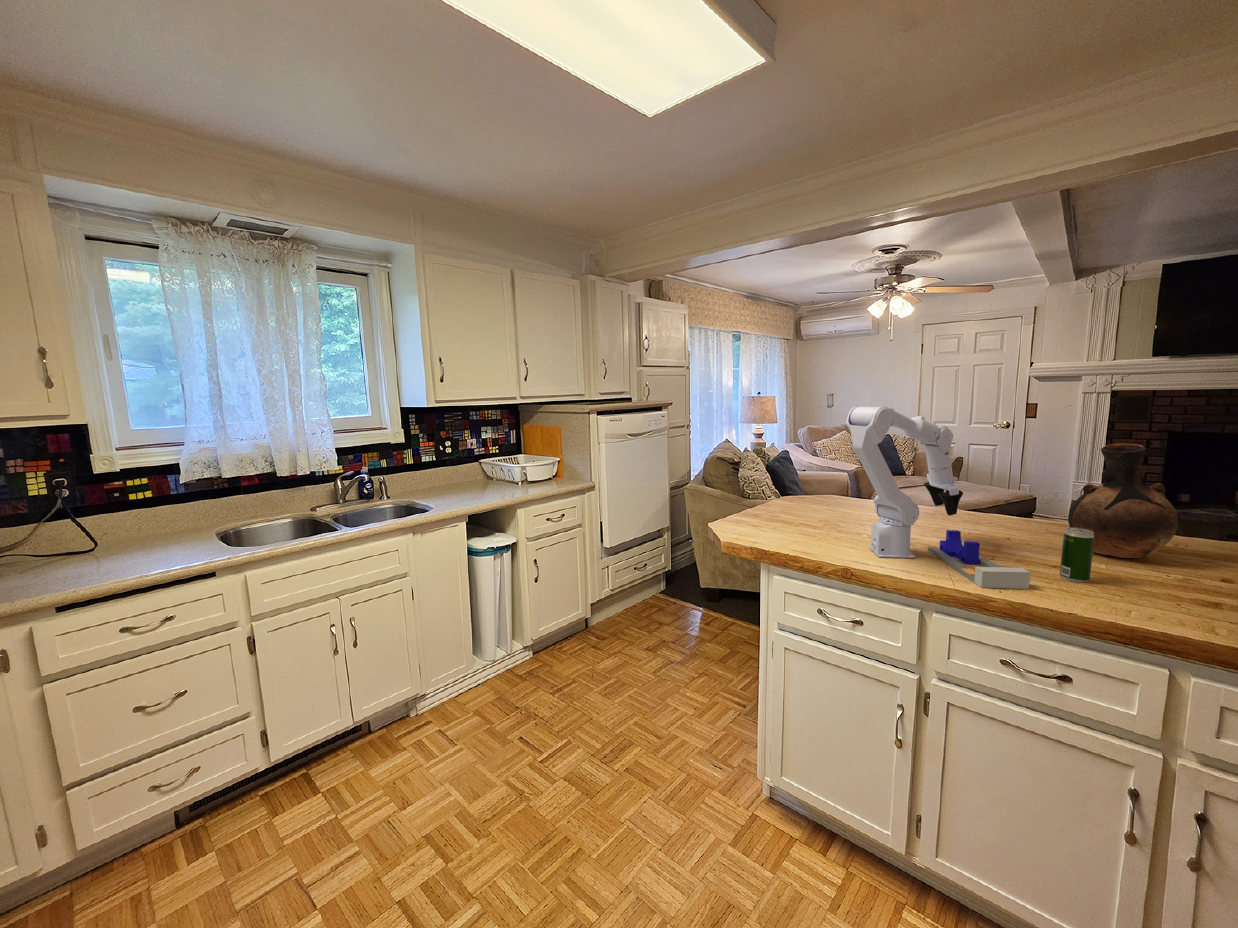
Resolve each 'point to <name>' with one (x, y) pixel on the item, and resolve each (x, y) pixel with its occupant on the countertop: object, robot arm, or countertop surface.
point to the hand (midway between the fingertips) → (945, 509)
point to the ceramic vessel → (1125, 507)
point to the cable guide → (988, 572)
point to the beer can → (1077, 554)
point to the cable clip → (960, 548)
